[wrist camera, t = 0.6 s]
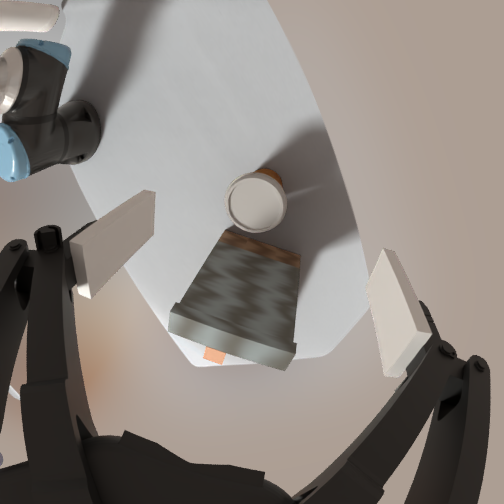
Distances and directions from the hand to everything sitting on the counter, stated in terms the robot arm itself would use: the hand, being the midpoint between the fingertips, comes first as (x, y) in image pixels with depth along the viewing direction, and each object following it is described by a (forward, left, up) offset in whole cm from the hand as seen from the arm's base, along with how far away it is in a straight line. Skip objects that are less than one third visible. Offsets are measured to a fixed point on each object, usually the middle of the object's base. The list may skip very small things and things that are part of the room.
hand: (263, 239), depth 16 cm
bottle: (-68, +23, -38) cm, 81 cm away
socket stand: (0, -29, -38) cm, 47 cm away
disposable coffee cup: (-3, -8, -38) cm, 39 cm away
